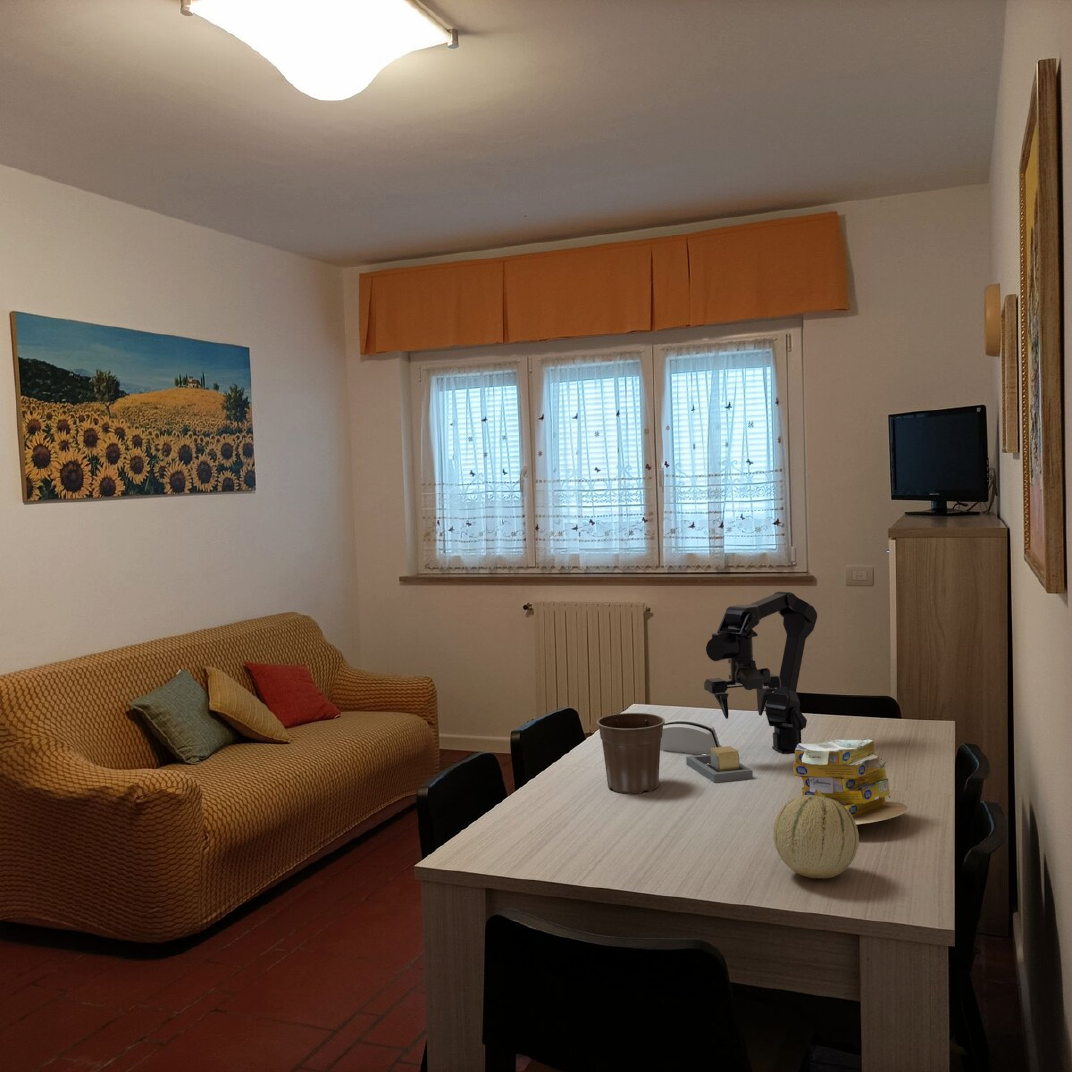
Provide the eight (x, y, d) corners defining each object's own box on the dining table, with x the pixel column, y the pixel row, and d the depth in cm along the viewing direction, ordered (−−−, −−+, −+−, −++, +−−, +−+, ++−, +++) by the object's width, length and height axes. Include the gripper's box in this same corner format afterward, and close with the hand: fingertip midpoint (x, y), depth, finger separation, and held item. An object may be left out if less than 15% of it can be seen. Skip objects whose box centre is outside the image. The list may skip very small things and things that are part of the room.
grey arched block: (724, 751, 274) (718, 719, 270) (718, 761, 270) (711, 729, 267) (667, 745, 283) (660, 714, 279) (660, 755, 279) (653, 723, 276)
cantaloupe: (778, 891, 178) (775, 805, 178) (772, 860, 193) (769, 781, 192) (866, 892, 176) (863, 806, 175) (853, 861, 190) (851, 782, 190)
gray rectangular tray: (722, 760, 265) (722, 752, 265) (752, 778, 247) (752, 770, 247) (686, 764, 263) (686, 756, 263) (714, 782, 245) (713, 774, 245)
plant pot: (664, 797, 235) (661, 728, 235) (594, 796, 238) (592, 727, 238) (669, 777, 251) (667, 712, 250) (604, 777, 254) (601, 712, 254)
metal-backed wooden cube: (732, 771, 254) (731, 745, 254) (740, 777, 249) (739, 750, 249) (710, 774, 253) (709, 748, 253) (718, 779, 248) (717, 753, 248)
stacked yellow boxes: (759, 817, 219) (756, 739, 218) (843, 795, 231) (841, 722, 230) (846, 849, 197) (843, 763, 197) (934, 824, 209) (931, 743, 209)
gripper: (719, 663, 250) (722, 727, 251) (790, 657, 254) (792, 720, 255) (702, 657, 261) (704, 717, 261) (769, 651, 265) (772, 711, 266)
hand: (743, 716), depth 260 cm, fingers open, 9 cm apart
